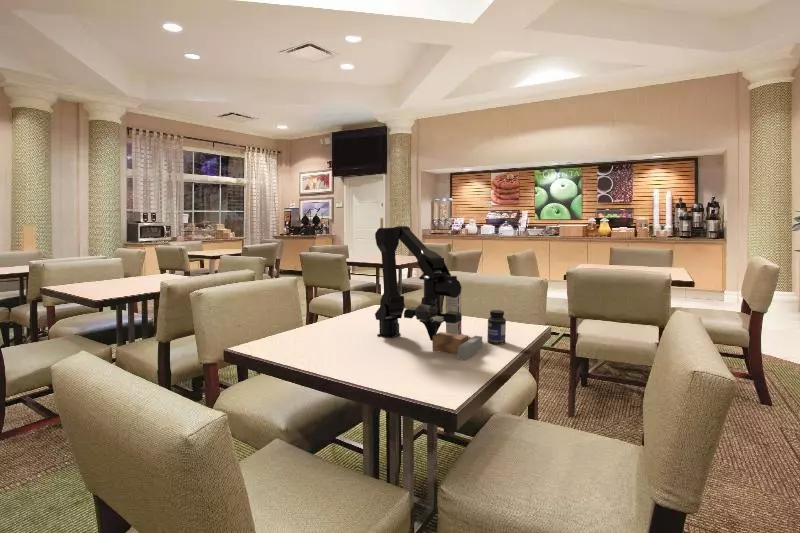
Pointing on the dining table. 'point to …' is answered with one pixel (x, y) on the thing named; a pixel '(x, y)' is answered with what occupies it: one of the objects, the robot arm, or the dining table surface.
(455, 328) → the candy bar box
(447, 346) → the walnut brick
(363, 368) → the dining table surface
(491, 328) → the pill bottle
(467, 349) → the fence board
